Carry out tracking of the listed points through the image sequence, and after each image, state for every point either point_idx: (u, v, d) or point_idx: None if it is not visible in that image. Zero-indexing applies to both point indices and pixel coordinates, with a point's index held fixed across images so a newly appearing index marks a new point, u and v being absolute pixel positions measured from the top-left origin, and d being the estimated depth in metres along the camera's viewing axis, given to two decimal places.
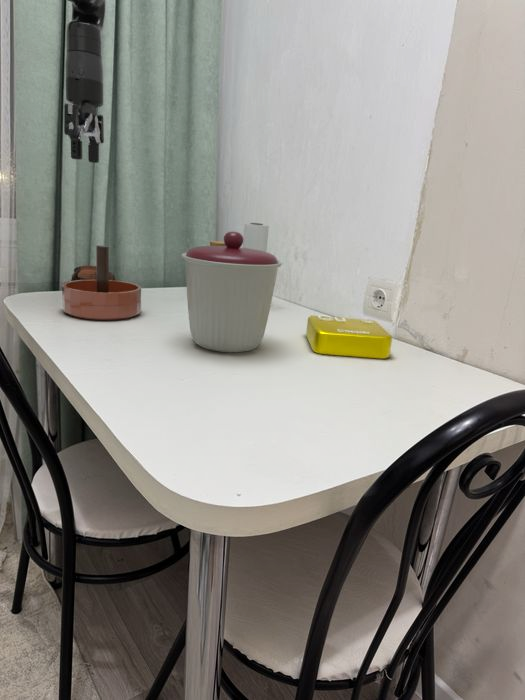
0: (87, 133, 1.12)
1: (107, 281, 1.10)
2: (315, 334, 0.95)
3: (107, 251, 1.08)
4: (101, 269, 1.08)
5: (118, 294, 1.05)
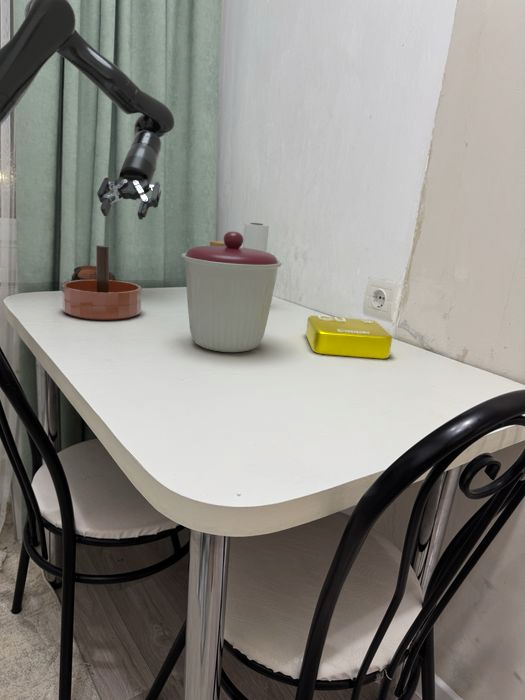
0: (116, 193, 1.20)
1: (107, 281, 1.10)
2: (315, 334, 0.95)
3: (107, 251, 1.08)
4: (101, 269, 1.08)
5: (118, 294, 1.05)
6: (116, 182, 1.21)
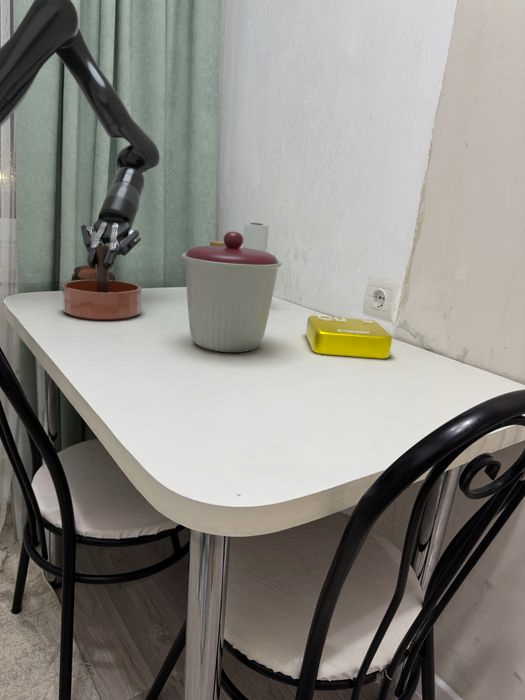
0: None
1: (107, 281, 1.10)
2: (315, 334, 0.95)
3: None
4: (101, 269, 1.08)
5: (118, 294, 1.05)
6: (95, 225, 1.12)
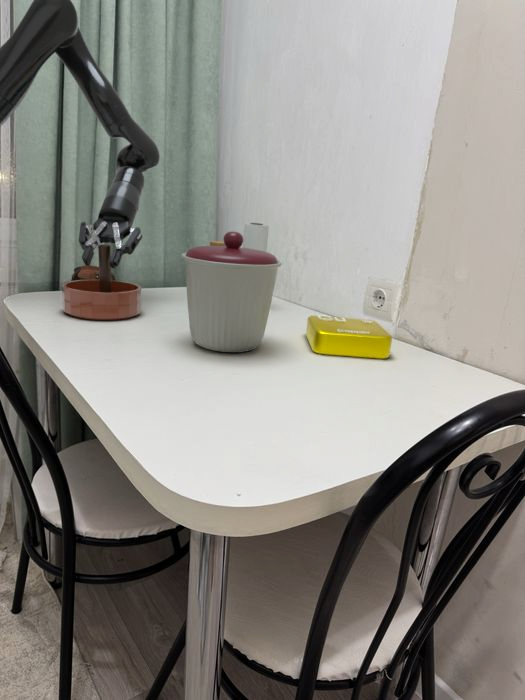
0: None
1: (109, 280, 1.11)
2: (315, 334, 0.95)
3: (109, 250, 1.09)
4: (103, 268, 1.10)
5: (118, 294, 1.05)
6: (94, 224, 1.12)
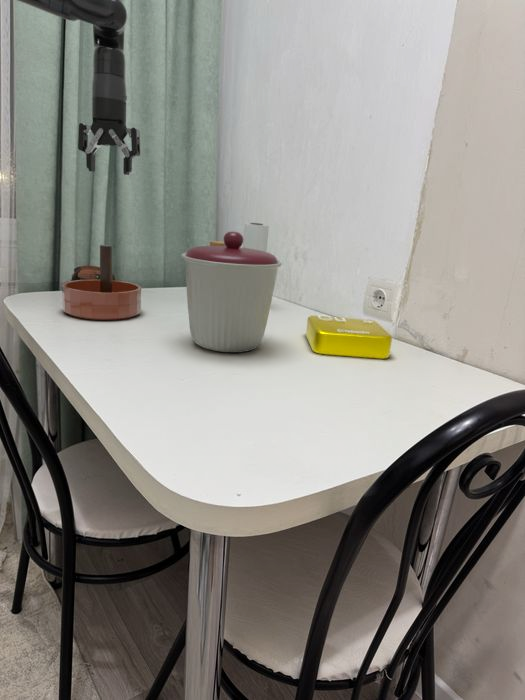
0: (96, 145, 1.19)
1: (110, 280, 1.11)
2: (315, 334, 0.95)
3: (110, 250, 1.10)
4: (104, 268, 1.10)
5: (118, 294, 1.05)
6: (92, 129, 1.17)
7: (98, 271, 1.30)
